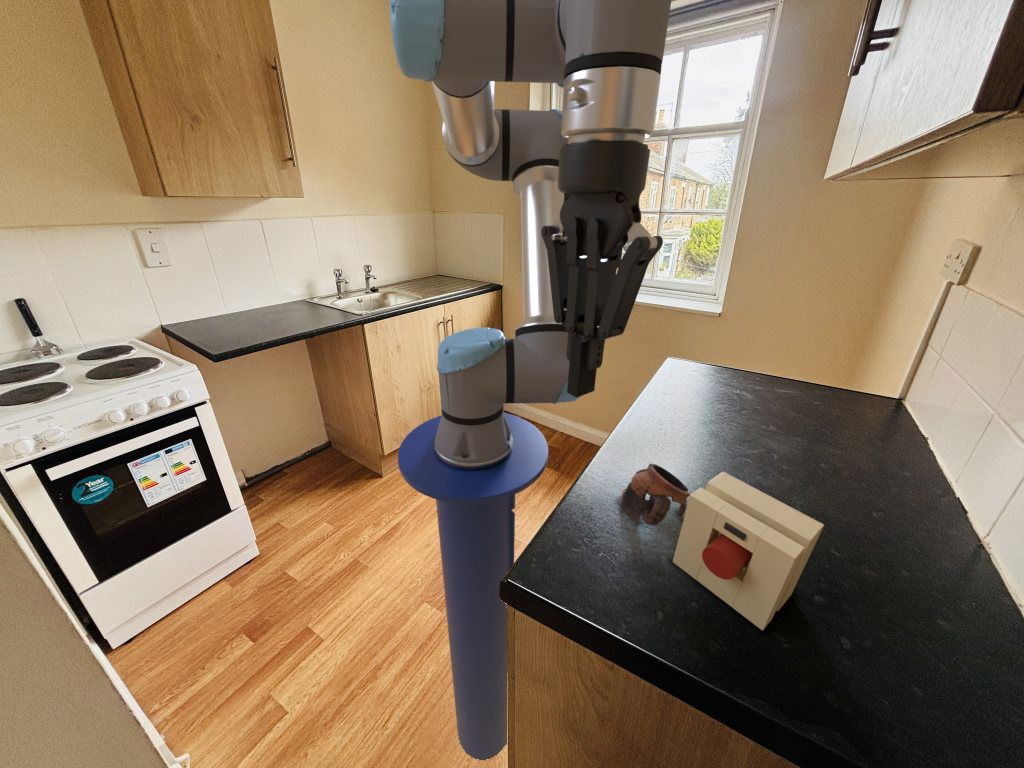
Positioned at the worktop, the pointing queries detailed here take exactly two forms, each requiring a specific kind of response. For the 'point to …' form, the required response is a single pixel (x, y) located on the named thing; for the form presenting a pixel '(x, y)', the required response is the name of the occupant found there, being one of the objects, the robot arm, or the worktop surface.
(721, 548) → the button
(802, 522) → the control block
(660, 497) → the pottery mug
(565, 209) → the robot arm
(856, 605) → the worktop surface
